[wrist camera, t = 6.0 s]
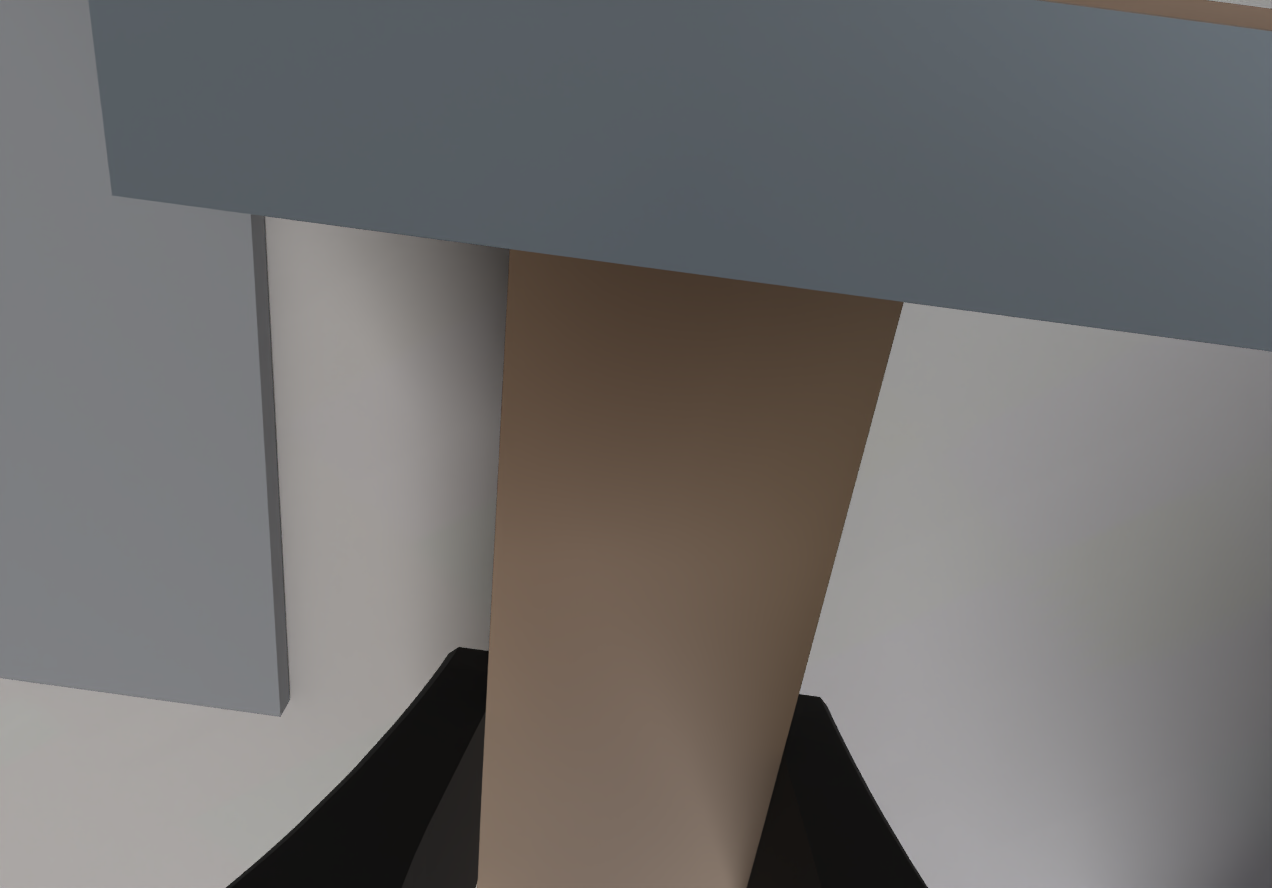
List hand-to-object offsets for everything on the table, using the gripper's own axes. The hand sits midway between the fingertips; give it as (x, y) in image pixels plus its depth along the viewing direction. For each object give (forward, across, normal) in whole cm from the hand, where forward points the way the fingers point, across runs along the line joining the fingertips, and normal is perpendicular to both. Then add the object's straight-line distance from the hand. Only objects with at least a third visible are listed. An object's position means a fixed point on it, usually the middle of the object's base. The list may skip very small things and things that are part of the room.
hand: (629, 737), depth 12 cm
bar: (+3, 0, 0) cm, 3 cm away
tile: (+3, 0, -8) cm, 8 cm away
